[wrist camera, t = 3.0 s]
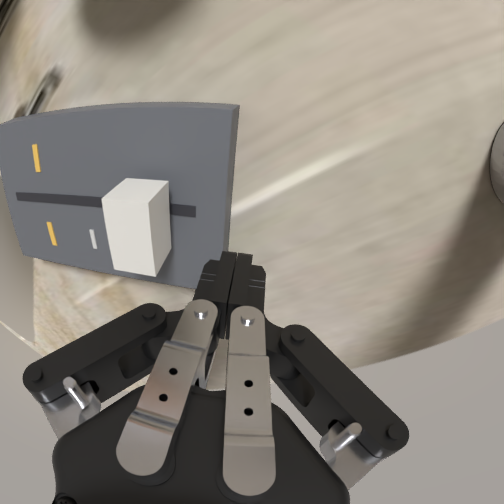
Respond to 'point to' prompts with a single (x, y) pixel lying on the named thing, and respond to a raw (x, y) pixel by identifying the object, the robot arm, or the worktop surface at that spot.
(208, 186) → the panel
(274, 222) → the worktop surface
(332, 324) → the worktop surface
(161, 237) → the fader knob
